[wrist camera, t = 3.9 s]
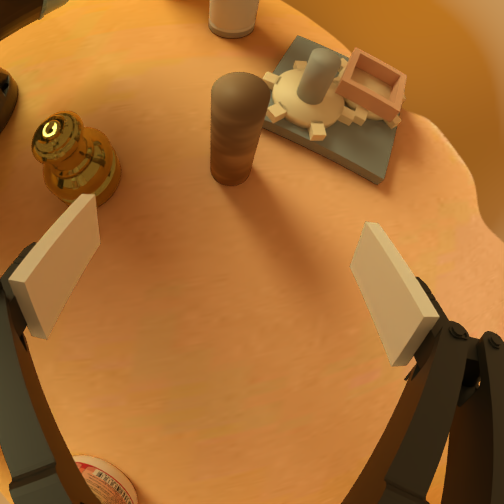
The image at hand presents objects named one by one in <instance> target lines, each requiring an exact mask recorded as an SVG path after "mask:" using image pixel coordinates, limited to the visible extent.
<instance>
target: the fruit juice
mask: <svg viewBox="0 0 504 504" xmlns="http://www.w3.org/2000/svg"><path fill="white" fill-rule="evenodd" d="M72 457H73V459H74V461H75V463H76V465H77V467H78V468H79V470H80V472H81V474H82V476H83V477H84V479H85V481H86V483H87V484H88V486H89V487H90V489H91V490H92V492H93V493H94V494H95V495H96V497H97V498H98V499H99V500H100V501H101V503H102V504H138V499H137V494H136V491H135V489H134V487H133V485H132V484H131V482H130V481H129V479H128V478H127V477H126V476H125V475H124V474H123V473H122V472H121V471H120V470H119V469H117V468H116V467H115V466H113V465H111V464H110V463H108V462H106V461H104V460H102V459H99V458H96V457H93V456H88V455H76V456H72Z"/></svg>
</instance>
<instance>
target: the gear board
mask: <svg viewBox="0 0 504 504" xmlns="http://www.w3.org/2000/svg"><path fill="white" fill-rule="evenodd" d="M406 78H407V76H406V75H405V74H403V73H402V72H400V71H398V70H397V69H395V68H393V67H391V66H390V65H388V64H386V63H384V62H383V61H381V60H379V59H377V58H375V57H374V56H372V55H370V54H368V53H366V52H364V51H362V50H360V49H358V48H355V49H354V51H353V53H352V55H351V56H350V58H348V57H346V56H344V55H342V54H339V53H337V52H335V51H333V50H331V49H329V48H326V47H324V46H322V45H320V44H317V43H315V42H313V41H310V40H308V39H306V38H303V37H301V36H298V35H297V37H296V38H295V40H294V41H293V43H292V44H291V46H290V47H289V49H288V50H287V52H286V53H285V55H284V56H283V58H282V59H281V61H280V62H279V64H278V65H277V67H276V68H275V70H274V71H273V73H270V72H268V71H267V72H266V73H265V75H264V76H263V78H262V80H263V81H264V82H265V83H266V84H267V85H268V87H269V89H270V93H271V98H270V102H269V105H268V109H267V112H266V116H265V119H264V123H263V127H262V128H264V129H267V130H269V131H271V132H273V133H276V134H278V135H280V136H282V137H284V138H287V139H289V140H291V141H293V142H295V143H297V144H299V145H302V146H304V147H306V148H308V149H310V150H312V151H314V152H316V153H318V154H320V155H322V156H324V157H326V158H328V159H330V160H332V161H334V162H336V163H338V164H340V165H342V166H344V167H345V168H347V169H349V170H351V171H353V172H355V173H357V174H358V175H360V176H362V177H364V178H366V179H368V180H369V181H371V182H373V183H375V184H376V185H378V184H379V183H380V182H382V181H383V180H384V178H385V174H386V170H387V166H388V162H389V158H390V154H391V150H392V146H393V142H394V138H395V133H396V129H397V125H398V124H399V123H400V122H401V121H402V120H401V118H400V117H399V115H400V110H401V105H402V103H403V102H404V101H405V100H406V97H405V95H404V89H405V83H406Z"/></svg>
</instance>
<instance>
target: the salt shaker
mask: <svg viewBox="0 0 504 504" xmlns="http://www.w3.org/2000/svg"><path fill="white" fill-rule="evenodd" d="M31 148H32V153H33V155H34V157H35V158H36V160H37V161H39V162H40V163H43V164H44V165H43V177H44V181H45V184H46V186H47V188H48V189H49V190H50V191H51V192H52V193H53V194H54V195H56V196H57V197H58V198H59V199H60V200H61V201H63V202H64V203H66V204H67V205H68V206H70V205H71V204H72V203H73V202H74V201H75V200H76V199H77V198H78V197H79V196H80V195H81V194H95V197H96V207H98V206H100V205H102V204H103V203H105V202H106V201H107V200H108V199H109V198H110V197H111V196H112V195H113V193H114V192H115V190H116V188H117V186H118V184H119V181H120V177H121V165H120V162H119V159H118V157H117V156H116V153H115V150H114V149H113V147H112V146H111V144H110V141H109V139H108V138H107V136H106V135H105V134H104V133H103V132H101V131H100V130H98V129H95V128H91V127H84V126H83V122H82V120H81V118H80V117H79V116H78V115H77V114H76V113H74V112H72V111H61V112H57V113H55V114H53V115H51V116H49V117H48V118H47V119H45V120H44V121H43V122H42V123H41V124H40V126H39V127H38V128H37V130H36V132H35V134H34V136H33V139H32V144H31Z"/></svg>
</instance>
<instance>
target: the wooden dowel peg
mask: <svg viewBox="0 0 504 504" xmlns="http://www.w3.org/2000/svg"><path fill="white" fill-rule="evenodd" d="M270 98H271V93H270V89H269V87H268V85H267V84H266V83H265V82H264V81H263V80H262V79H261V78H259V77H257V76H255V75H253V74H250V73H245V72H233V73H229V74H226V75H224V76H222V77H220V78H219V79H218V80H217V81H216V82H215V83H214V85H213V87H212V90H211V157H210V169H211V174H212V176H213V177H214V179H215V180H216V181H217V182H219V183H221V184H223V185H226V186H235V185H239V184H241V183H243V182H244V181H245V180H246V179H247V178H248V176H249V174H250V170H251V166H252V163H253V159H254V155H255V152H256V148H257V145H258V141H259V137H260V134H261V130H262V127H263V123H264V119H265V116H266V112H267V109H268V105H269V102H270Z"/></svg>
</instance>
